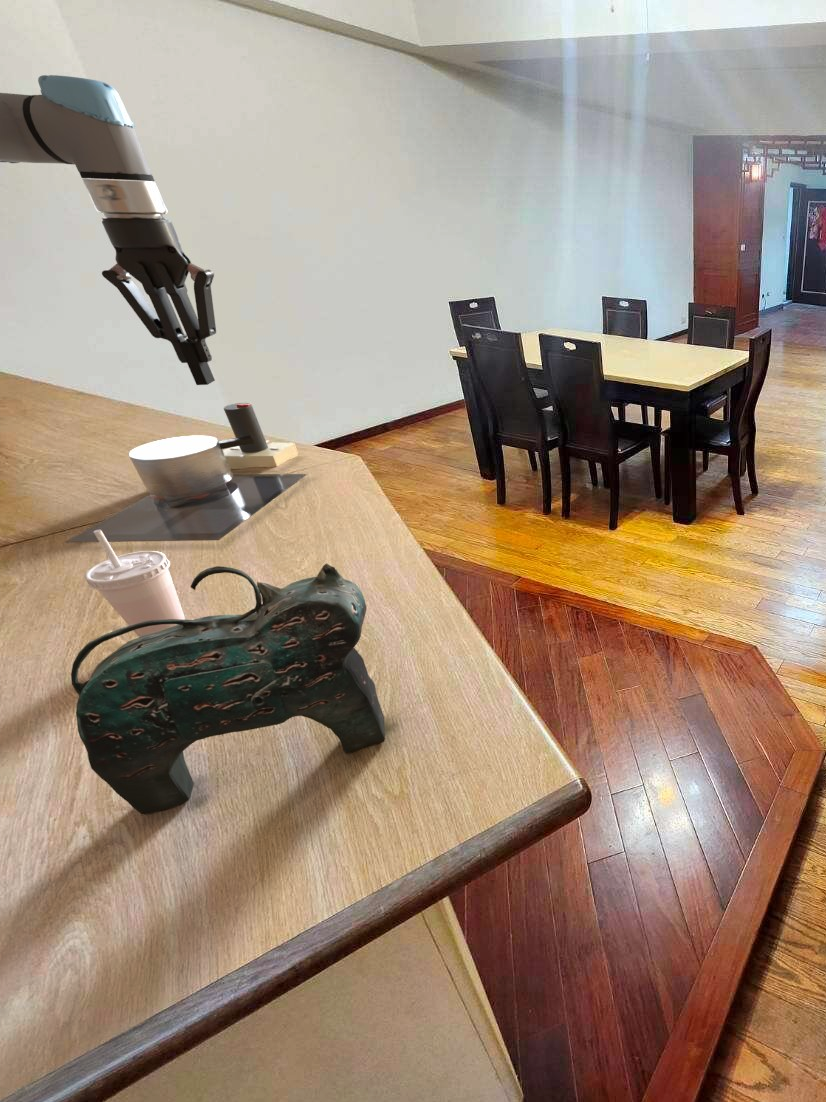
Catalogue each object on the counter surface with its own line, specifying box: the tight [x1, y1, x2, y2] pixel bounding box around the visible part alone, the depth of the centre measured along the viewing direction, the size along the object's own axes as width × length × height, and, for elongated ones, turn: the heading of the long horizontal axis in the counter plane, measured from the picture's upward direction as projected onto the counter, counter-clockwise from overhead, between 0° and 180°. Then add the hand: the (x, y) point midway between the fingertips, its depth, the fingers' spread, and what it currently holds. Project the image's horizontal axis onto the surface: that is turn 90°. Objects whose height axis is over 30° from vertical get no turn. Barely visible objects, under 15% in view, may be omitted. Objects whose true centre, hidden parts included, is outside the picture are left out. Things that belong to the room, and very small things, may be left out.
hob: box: [65, 473, 308, 543], centre depth 93 cm, size 20×24×1 cm
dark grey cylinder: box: [223, 402, 268, 453], centre depth 106 cm, size 4×4×8 cm
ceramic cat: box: [70, 563, 386, 815], centre depth 47 cm, size 20×6×20 cm, turn 118°
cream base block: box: [222, 440, 299, 470], centre depth 109 cm, size 10×8×3 cm
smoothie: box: [84, 530, 186, 638], centre depth 63 cm, size 6×6×14 cm
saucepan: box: [128, 435, 254, 502], centre depth 98 cm, size 16×11×7 cm
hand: (205, 382), depth 96 cm, fingers closed
